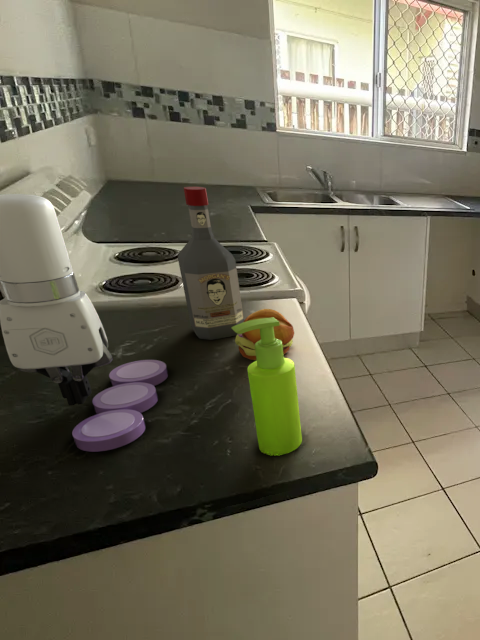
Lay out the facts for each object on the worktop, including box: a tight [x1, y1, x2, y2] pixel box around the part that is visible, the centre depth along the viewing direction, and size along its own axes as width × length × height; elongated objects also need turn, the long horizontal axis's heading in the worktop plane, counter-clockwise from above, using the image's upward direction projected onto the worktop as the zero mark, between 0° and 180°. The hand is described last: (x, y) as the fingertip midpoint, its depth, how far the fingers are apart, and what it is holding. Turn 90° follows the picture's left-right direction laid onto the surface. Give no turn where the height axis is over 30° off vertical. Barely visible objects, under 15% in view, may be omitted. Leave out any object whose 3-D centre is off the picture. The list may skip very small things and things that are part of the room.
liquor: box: [177, 186, 245, 341], centre depth 97 cm, size 9×9×30 cm
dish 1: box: [71, 409, 146, 453], centre depth 69 cm, size 8×8×2 cm
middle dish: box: [92, 382, 159, 415], centre depth 76 cm, size 8×8×2 cm
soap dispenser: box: [231, 317, 303, 456], centre depth 66 cm, size 6×7×20 cm
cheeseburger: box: [234, 308, 295, 361], centre depth 94 cm, size 10×11×10 cm
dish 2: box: [108, 359, 169, 387], centre depth 83 cm, size 8×8×2 cm
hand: (79, 400), depth 73 cm, fingers closed
